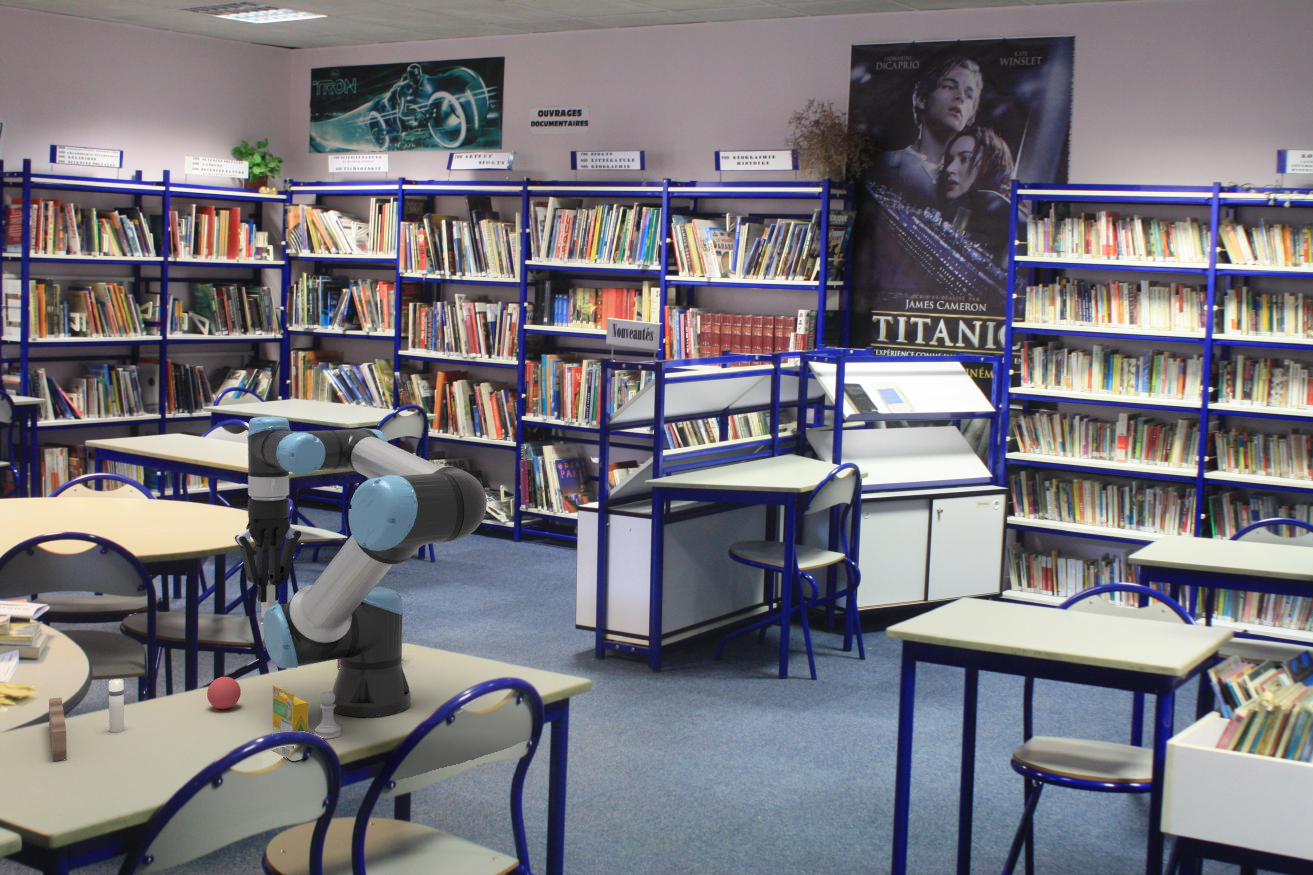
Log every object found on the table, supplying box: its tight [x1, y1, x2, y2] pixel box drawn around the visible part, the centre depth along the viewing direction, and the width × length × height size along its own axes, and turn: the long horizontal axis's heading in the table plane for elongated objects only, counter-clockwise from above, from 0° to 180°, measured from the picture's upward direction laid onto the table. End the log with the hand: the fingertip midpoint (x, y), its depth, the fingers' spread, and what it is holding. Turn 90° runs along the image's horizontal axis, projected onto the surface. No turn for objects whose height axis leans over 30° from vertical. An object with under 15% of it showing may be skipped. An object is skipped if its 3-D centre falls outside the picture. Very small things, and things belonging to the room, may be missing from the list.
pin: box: [108, 678, 125, 733], centre depth 218 cm, size 2×2×9 cm
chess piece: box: [314, 691, 342, 740], centre depth 218 cm, size 5×5×8 cm
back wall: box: [48, 697, 67, 762], centre depth 211 cm, size 20×2×5 cm, turn 28°
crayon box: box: [271, 685, 309, 759], centre depth 208 cm, size 7×3×12 cm, turn 44°
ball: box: [206, 676, 242, 710], centre depth 232 cm, size 6×6×6 cm
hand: (268, 617), depth 237 cm, fingers closed
